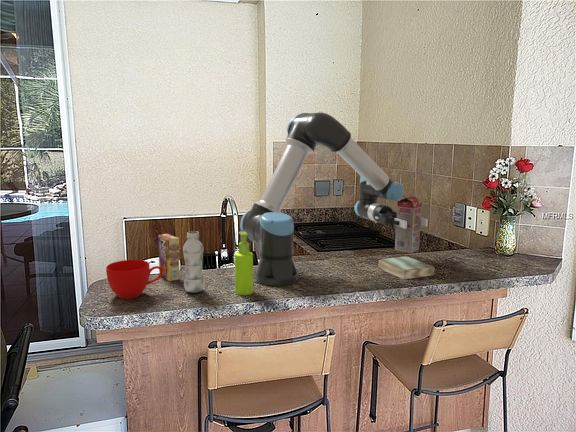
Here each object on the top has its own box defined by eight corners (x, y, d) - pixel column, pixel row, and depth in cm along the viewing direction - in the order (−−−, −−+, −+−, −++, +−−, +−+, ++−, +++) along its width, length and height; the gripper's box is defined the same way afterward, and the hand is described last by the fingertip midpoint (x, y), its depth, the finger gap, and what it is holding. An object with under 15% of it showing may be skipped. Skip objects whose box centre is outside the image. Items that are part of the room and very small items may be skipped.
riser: (403, 279, 167) (404, 270, 166) (378, 267, 181) (378, 259, 180) (434, 275, 172) (434, 266, 172) (407, 263, 187) (407, 255, 186)
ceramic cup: (164, 298, 144) (163, 268, 143) (107, 304, 139) (105, 273, 137) (161, 285, 156) (160, 257, 155) (108, 290, 151) (106, 261, 149)
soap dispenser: (249, 287, 156) (249, 229, 152) (254, 294, 149) (254, 234, 146) (232, 289, 154) (232, 230, 150) (237, 296, 148) (236, 235, 144)
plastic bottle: (206, 294, 149) (204, 233, 145) (184, 295, 147) (183, 234, 144) (203, 287, 155) (202, 229, 152) (183, 289, 153) (181, 230, 150)
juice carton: (394, 250, 175) (397, 192, 171) (403, 246, 180) (406, 191, 176) (411, 253, 171) (414, 194, 167) (418, 249, 176) (422, 192, 172)
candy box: (181, 279, 163) (179, 237, 161) (169, 281, 161) (168, 239, 158) (170, 273, 170) (168, 233, 167) (158, 275, 167) (157, 234, 165)
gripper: (401, 220, 194) (438, 231, 174) (358, 224, 186) (391, 236, 165) (402, 203, 193) (440, 212, 173) (358, 206, 184) (392, 215, 164)
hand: (416, 223), depth 169 cm, fingers closed on juice carton, 9 cm apart
